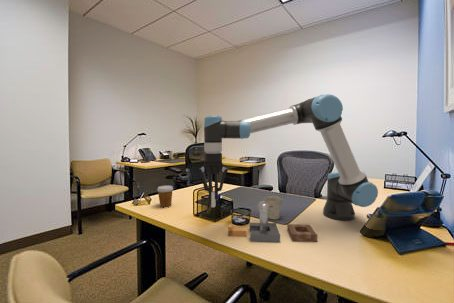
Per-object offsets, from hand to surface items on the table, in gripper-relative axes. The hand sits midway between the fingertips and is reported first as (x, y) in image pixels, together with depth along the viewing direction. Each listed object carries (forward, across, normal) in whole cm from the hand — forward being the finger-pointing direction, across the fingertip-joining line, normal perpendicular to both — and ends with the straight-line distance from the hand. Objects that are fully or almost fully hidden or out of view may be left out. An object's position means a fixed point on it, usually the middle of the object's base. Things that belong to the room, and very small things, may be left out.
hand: (213, 206), depth 97 cm
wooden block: (+13, -10, 0) cm, 16 cm away
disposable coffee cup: (+13, +34, -36) cm, 51 cm away
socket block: (+12, -22, 0) cm, 25 cm away
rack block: (+12, -38, 0) cm, 40 cm away
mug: (+13, -27, -21) cm, 36 cm away
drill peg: (+12, -22, 0) cm, 25 cm away
